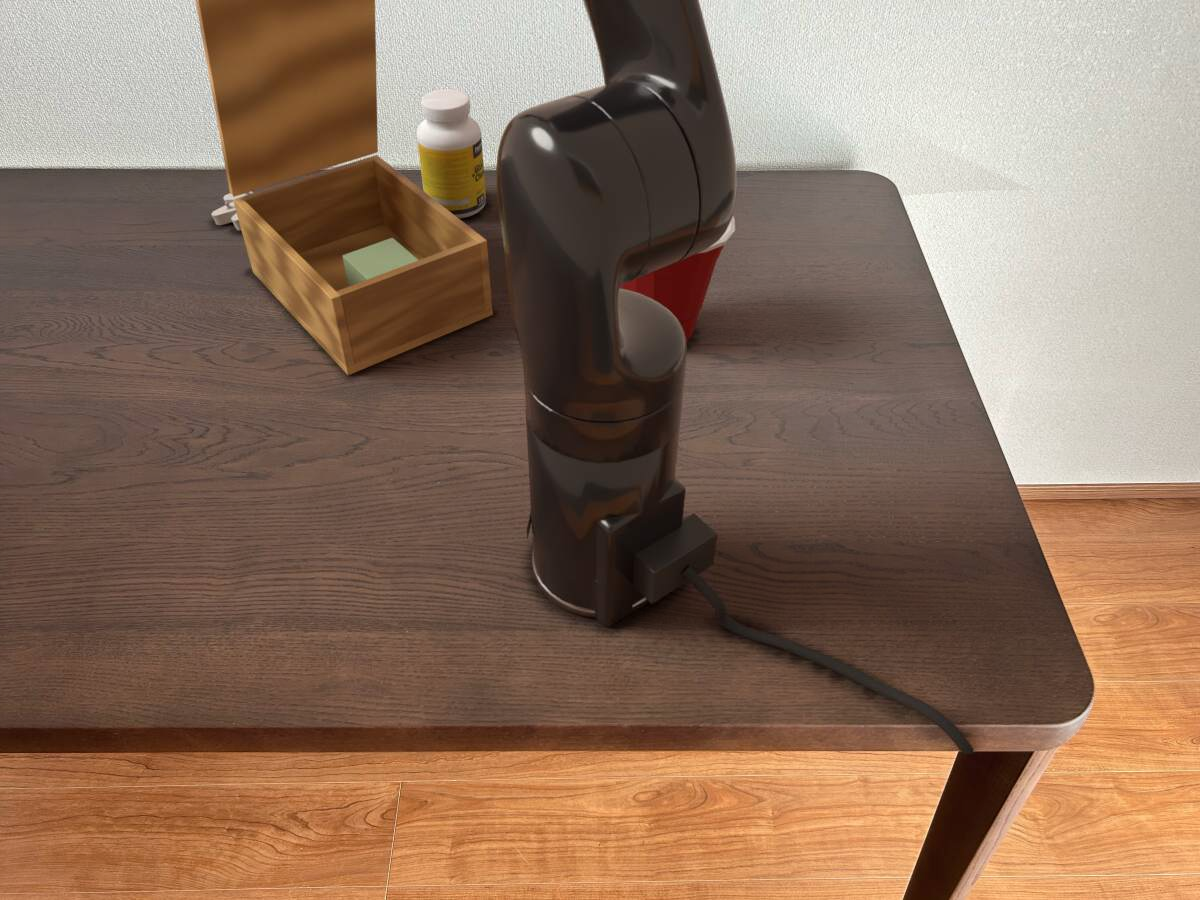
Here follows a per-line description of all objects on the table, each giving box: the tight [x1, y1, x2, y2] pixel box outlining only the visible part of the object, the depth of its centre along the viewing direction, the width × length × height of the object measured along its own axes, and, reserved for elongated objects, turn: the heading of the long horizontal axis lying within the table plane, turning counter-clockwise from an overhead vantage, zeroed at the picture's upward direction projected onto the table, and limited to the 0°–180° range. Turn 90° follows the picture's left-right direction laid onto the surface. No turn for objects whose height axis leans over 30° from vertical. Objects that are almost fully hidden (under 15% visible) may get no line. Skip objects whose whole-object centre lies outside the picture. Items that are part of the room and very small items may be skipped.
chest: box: [233, 154, 494, 376], centre depth 88 cm, size 20×15×8 cm
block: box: [343, 238, 418, 287], centre depth 86 cm, size 5×5×5 cm
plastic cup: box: [620, 215, 736, 343], centre depth 83 cm, size 11×11×12 cm
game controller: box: [211, 191, 254, 231], centre depth 101 cm, size 6×12×3 cm, turn 134°
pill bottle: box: [416, 88, 487, 219], centre depth 99 cm, size 6×6×12 cm
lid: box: [194, 0, 379, 197], centre depth 82 cm, size 20×15×1 cm
